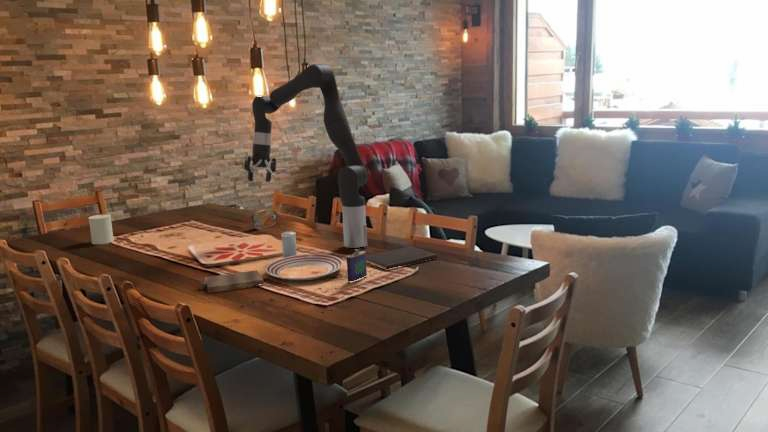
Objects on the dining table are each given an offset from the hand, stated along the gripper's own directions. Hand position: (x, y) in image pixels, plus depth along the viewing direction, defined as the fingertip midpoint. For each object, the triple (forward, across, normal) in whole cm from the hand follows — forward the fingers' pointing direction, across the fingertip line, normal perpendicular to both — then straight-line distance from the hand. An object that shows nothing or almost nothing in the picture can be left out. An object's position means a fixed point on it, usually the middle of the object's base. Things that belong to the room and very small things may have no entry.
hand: (259, 181), depth 278 cm
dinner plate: (+28, -14, -56) cm, 64 cm away
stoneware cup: (+26, -7, -36) cm, 46 cm away
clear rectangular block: (+23, +16, +18) cm, 33 cm away
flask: (+27, -6, -76) cm, 81 cm away
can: (+34, -46, +51) cm, 76 cm away
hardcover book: (+23, +19, -70) cm, 76 cm away
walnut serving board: (+32, -38, -48) cm, 69 cm away
